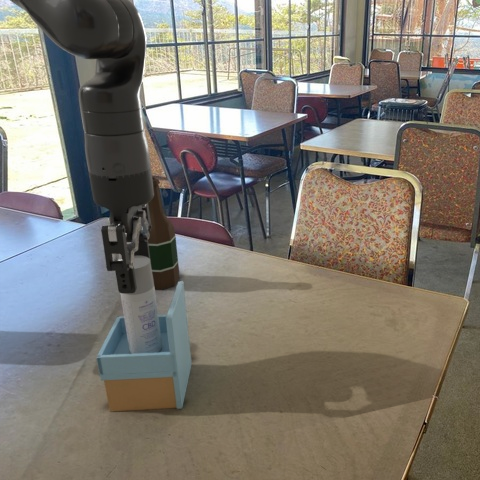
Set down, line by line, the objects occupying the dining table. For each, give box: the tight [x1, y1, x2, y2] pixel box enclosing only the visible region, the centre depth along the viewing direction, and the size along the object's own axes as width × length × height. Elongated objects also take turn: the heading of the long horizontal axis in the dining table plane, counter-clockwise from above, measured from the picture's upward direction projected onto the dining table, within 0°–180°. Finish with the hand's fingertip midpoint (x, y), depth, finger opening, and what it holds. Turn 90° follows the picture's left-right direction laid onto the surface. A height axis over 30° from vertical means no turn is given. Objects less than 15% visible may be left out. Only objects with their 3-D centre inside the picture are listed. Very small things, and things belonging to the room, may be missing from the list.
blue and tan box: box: [95, 280, 193, 412], centre depth 73 cm, size 11×11×16 cm
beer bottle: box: [148, 176, 180, 291], centre depth 103 cm, size 8×8×24 cm
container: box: [119, 256, 162, 354], centre depth 70 cm, size 5×5×15 cm
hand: (135, 277), depth 68 cm, fingers open, 8 cm apart
